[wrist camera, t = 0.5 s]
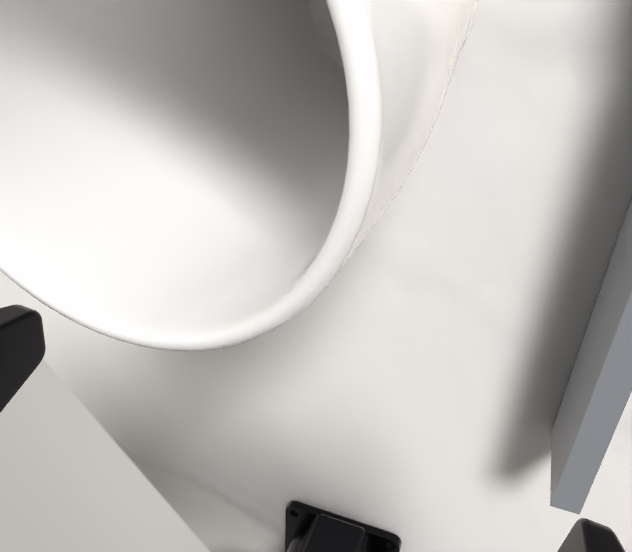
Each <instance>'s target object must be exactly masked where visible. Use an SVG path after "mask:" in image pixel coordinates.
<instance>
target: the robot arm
mask: <svg viewBox="0 0 632 552" xmlns="http://www.w3.org/2000/svg"><path fill="white" fill-rule="evenodd" d="M44 354H45V339H44V332H43V324H42V318H41V315H40V314H39V313H38V312H37V311H35V310H32V309H30V308H27V307H24V306H22V305H11V306H7V307H3V308H0V412H1V411H2V410H3V408H4V407H5V406H6V405H7V403H8V402H9V401H10V400H11V398H12V397H13V396H14V395H15V394H16V392H17V391H18V390H19V389H20V387H21V386H22V385H23V384H24V382H25V381H26V380H27V379H28V377H29V376H30V375H31V374H32V372H33V371H34V370H35V369H36V367H37V366H38V365H39V363H40V362H41V360H42V359H43V357H44ZM400 547H401V540H400V538H399V537H398V536H396V535H394V534H392V533H389V532H386V531H383V530H380V529H377V528H374V527H371V526H368V525H365V524H362V523H359V522H356V521H353V520H350V519H347V518H344V517H341V516H338V515H335V514H332V513H329V512H326V511H323V510H320V509H317V508H314V507H311V506H308V505H305V504H302V503H299V502H295V501H292V502H290V503H289V505H288V507H287V509H286V539H285V552H400ZM558 552H625V550H624V548H623V547H622V545H621V543H620V541H619V540H618V538H617V536H616V534H615V533H614V532H613V531H612V530H611V529H610V528H609V527H607V526H604V525H601V524H599V523H596V522H593V521H591V520H588V519H585V518H581V519H579V520H578V521H577V522H576V523H575V524H574V526H573V528H572V529H571V531H570V532H569V534H568V536H567V537H566V539H565V540H564V542H563V543H562V545H561V547H560V548H559V550H558Z"/></svg>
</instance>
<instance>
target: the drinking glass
mask: <svg viewBox="0 0 632 552" xmlns="http://www.w3.org/2000/svg"><path fill="white" fill-rule="evenodd" d="M478 3H479V0H0V270H1V271H2V272H3V273H4V274H5V275H6V276H8V277H9V278H10V279H11V280H12V281H14V282H15V283H16V284H17V285H19V286H20V287H21V288H22V289H24V290H25V291H26V292H28V293H29V294H31V295H32V296H33V297H35V298H36V299H38V300H39V301H40V302H42V303H43V304H45V305H47V306H48V307H50V308H51V309H53V310H55V311H56V312H58V313H59V314H61V315H63V316H65V317H67V318H69V319H70V320H72V321H74V322H76V323H78V324H80V325H82V326H84V327H87V328H89V329H91V330H93V331H95V332H98V333H100V334H103V335H106V336H109V337H111V338H114V339H117V340H120V341H124V342H127V343H131V344H135V345H139V346H144V347H149V348H155V349H163V350H173V351H201V350H211V349H219V348H223V347H228V346H233V345H237V344H240V343H243V342H246V341H249V340H252V339H255V338H257V337H259V336H262V335H264V334H266V333H268V332H270V331H272V330H274V329H276V328H277V327H279V326H281V325H282V324H284V323H285V322H287V321H289V320H290V319H292V318H293V317H295V316H296V315H297V314H298V313H299V312H301V311H302V310H303V309H304V308H306V307H307V306H308V305H309V304H310V303H311V302H312V301H313V300H314V299H315V298H316V297H317V296H318V295H319V294H320V293H321V292H322V291H323V290H324V289H325V288H326V287H327V285H328V284H329V283H330V281H331V280H332V279H333V277H334V276H335V275H336V273H337V272H338V271H339V269H340V268H341V267H342V265H343V264H344V263H345V262H346V261H347V259H348V258H349V257H350V256H351V254H352V253H353V252H354V251H355V249H356V248H357V247H358V246H359V244H360V243H361V242H362V241H363V239H364V238H365V237H366V235H367V234H368V233H369V231H370V230H371V229H372V227H373V226H374V225H375V223H376V222H377V221H378V219H379V218H380V217H381V215H382V214H383V213H384V211H385V210H386V208H387V207H388V206H389V204H390V203H391V201H392V200H393V198H394V197H395V195H396V194H397V192H398V191H399V189H400V188H401V186H402V184H403V183H404V181H405V179H406V177H407V176H408V174H409V172H410V171H411V169H412V167H413V166H414V164H415V162H416V161H417V159H418V157H419V155H420V153H421V151H422V150H423V148H424V146H425V144H426V141H427V139H428V137H429V135H430V133H431V131H432V129H433V126H434V124H435V122H436V120H437V117H438V115H439V112H440V109H441V106H442V103H443V101H444V98H445V95H446V92H447V89H448V86H449V83H450V80H451V77H452V74H453V70H454V67H455V64H456V61H457V57H458V54H459V51H460V48H461V46H462V45H463V43H464V42H465V40H466V38H467V36H468V35H469V32H470V30H471V28H472V25H473V23H474V20H475V17H476V13H477V9H478Z"/></svg>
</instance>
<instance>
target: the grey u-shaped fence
mask: <svg viewBox="0 0 632 552" xmlns="http://www.w3.org/2000/svg"><path fill="white" fill-rule="evenodd" d="M631 391H632V198H631V201H630V204H629V207H628V210H627V213H626V216H625V219H624V221H623V224H622V227H621V230H620V233H619V236H618V239H617V242H616V245H615V248H614V250H613V253H612V256H611V259H610V262H609V265H608V268H607V271H606V274H605V277H604V280H603V282H602V285H601V288H600V291H599V294H598V297H597V300H596V303H595V306H594V309H593V312H592V314H591V317H590V320H589V323H588V326H587V329H586V332H585V335H584V338H583V341H582V343H581V346H580V349H579V352H578V355H577V358H576V361H575V364H574V367H573V370H572V373H571V375H570V378H569V381H568V384H567V387H566V390H565V393H564V396H563V399H562V402H561V405H560V407H559V410H558V413H557V416H556V419H555V422H554V425H553V428H552V440H551V502H550V506H553V507H556V508H560V509H563V510H566V511H570V512H573V513H576V514H580V512H581V510H582V507H583V505H584V502H585V500H586V498H587V495H588V493H589V491H590V488H591V486H592V484H593V481H594V479H595V476H596V474H597V472H598V469H599V467H600V465H601V462H602V460H603V458H604V455H605V453H606V450H607V448H608V446H609V443H610V441H611V439H612V436H613V434H614V432H615V429H616V427H617V424H618V422H619V420H620V417H621V415H622V413H623V410H624V408H625V406H626V403H627V401H628V398H629V396H630V394H631Z"/></svg>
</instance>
